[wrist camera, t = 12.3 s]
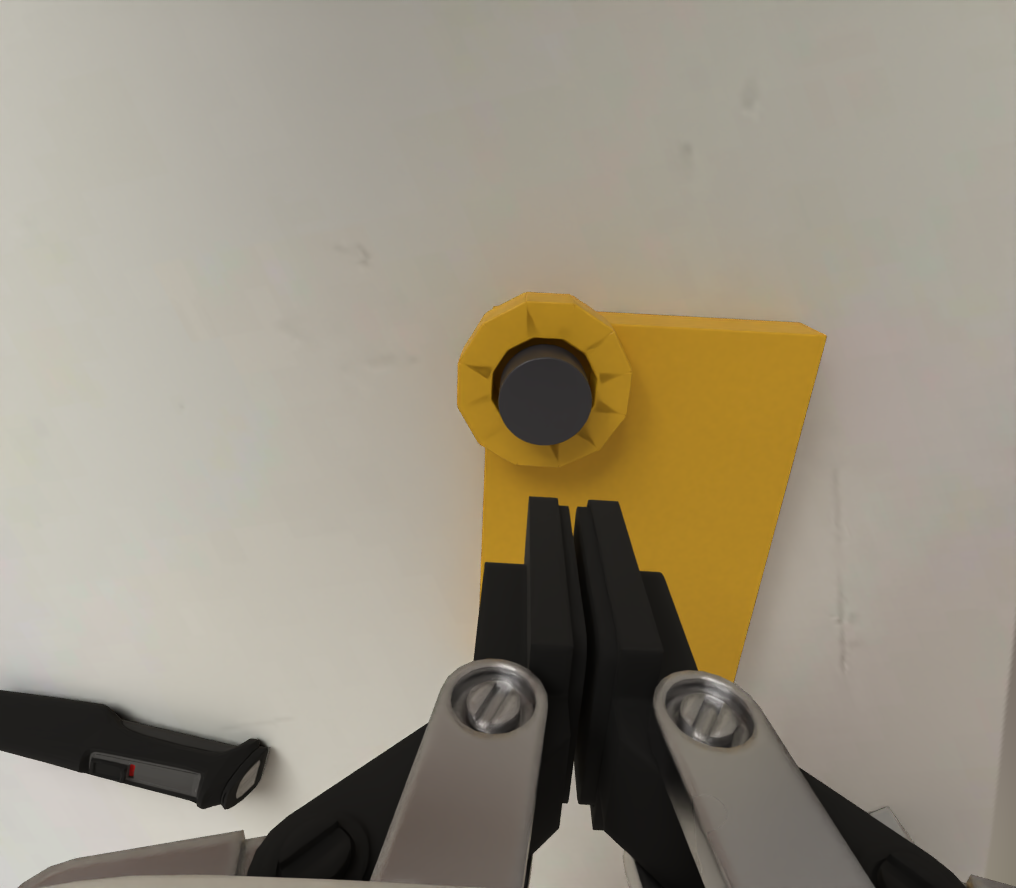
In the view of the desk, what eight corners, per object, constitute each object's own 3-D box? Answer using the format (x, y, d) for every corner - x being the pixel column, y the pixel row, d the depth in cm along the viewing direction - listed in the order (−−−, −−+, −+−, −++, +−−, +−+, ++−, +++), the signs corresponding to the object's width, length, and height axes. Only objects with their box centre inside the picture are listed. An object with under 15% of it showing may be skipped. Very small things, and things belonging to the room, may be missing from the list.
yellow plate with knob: (469, 279, 22) (458, 297, 19) (807, 297, 22) (863, 318, 19) (460, 659, 30) (452, 724, 26) (713, 673, 30) (740, 741, 26)
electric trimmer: (-15, 656, 31) (-72, 704, 28) (273, 736, 33) (248, 790, 30) (-15, 705, 33) (-69, 756, 30) (261, 780, 34) (236, 835, 31)
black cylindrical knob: (502, 341, 20) (500, 354, 18) (591, 346, 20) (597, 360, 18) (498, 424, 21) (496, 443, 19) (582, 428, 21) (587, 448, 19)
